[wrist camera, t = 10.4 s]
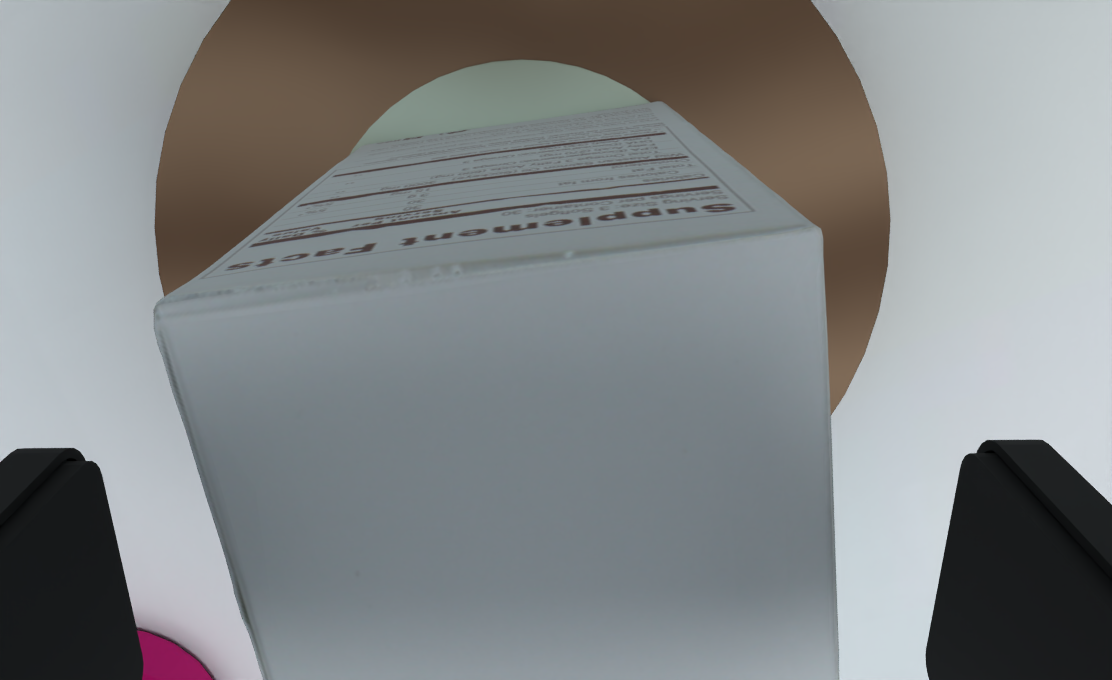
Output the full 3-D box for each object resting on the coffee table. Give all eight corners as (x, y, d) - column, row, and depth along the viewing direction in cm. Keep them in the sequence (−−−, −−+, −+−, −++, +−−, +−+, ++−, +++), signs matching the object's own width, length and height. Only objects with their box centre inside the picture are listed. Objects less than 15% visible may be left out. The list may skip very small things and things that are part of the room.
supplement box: (694, 384, 24) (852, 779, 12) (410, 418, 24) (284, 840, 12) (672, 91, 21) (847, 218, 9) (353, 132, 21) (120, 309, 9)
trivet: (121, -127, 21) (86, -138, 19) (912, -131, 21) (943, -141, 19) (227, 551, 27) (208, 586, 25) (832, 541, 27) (850, 575, 26)
